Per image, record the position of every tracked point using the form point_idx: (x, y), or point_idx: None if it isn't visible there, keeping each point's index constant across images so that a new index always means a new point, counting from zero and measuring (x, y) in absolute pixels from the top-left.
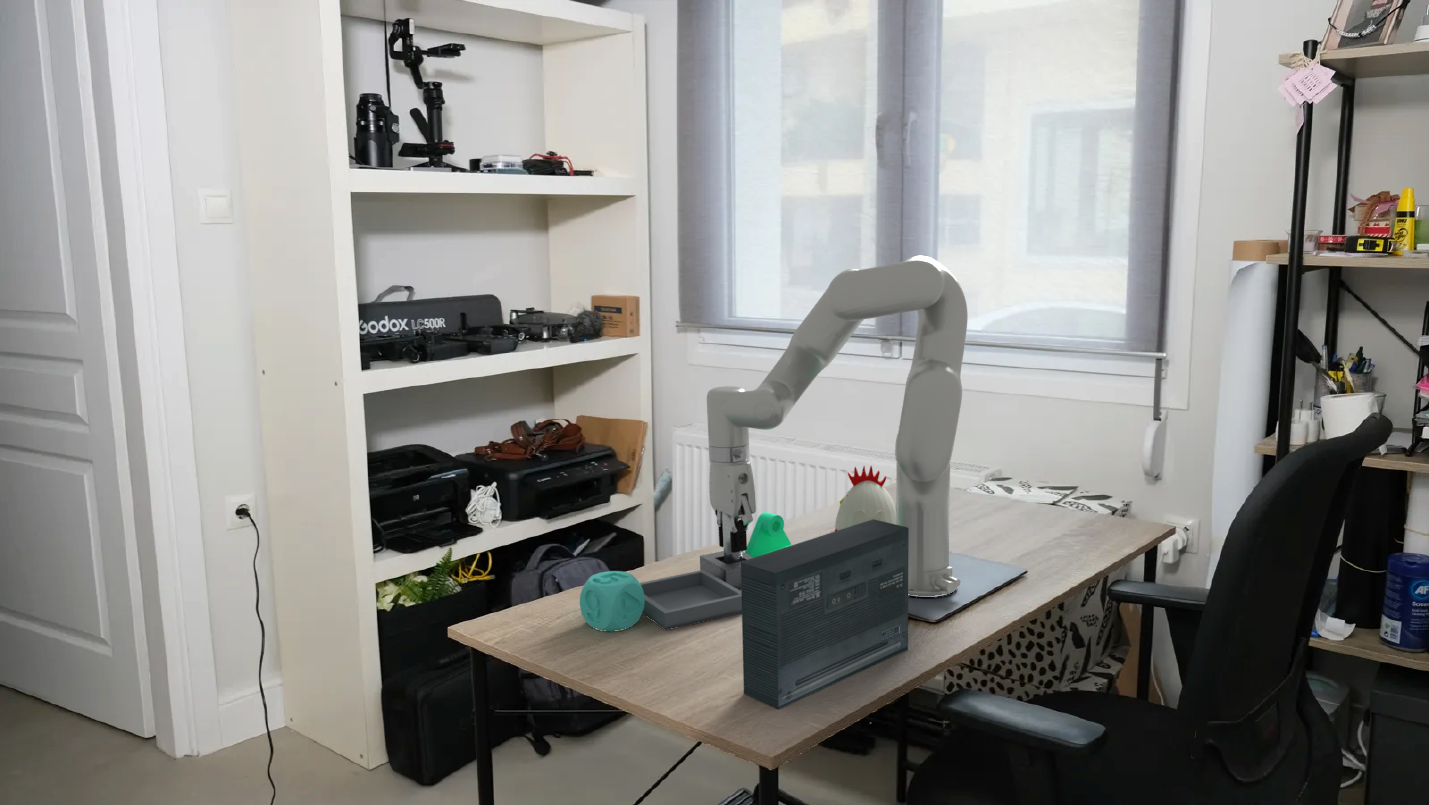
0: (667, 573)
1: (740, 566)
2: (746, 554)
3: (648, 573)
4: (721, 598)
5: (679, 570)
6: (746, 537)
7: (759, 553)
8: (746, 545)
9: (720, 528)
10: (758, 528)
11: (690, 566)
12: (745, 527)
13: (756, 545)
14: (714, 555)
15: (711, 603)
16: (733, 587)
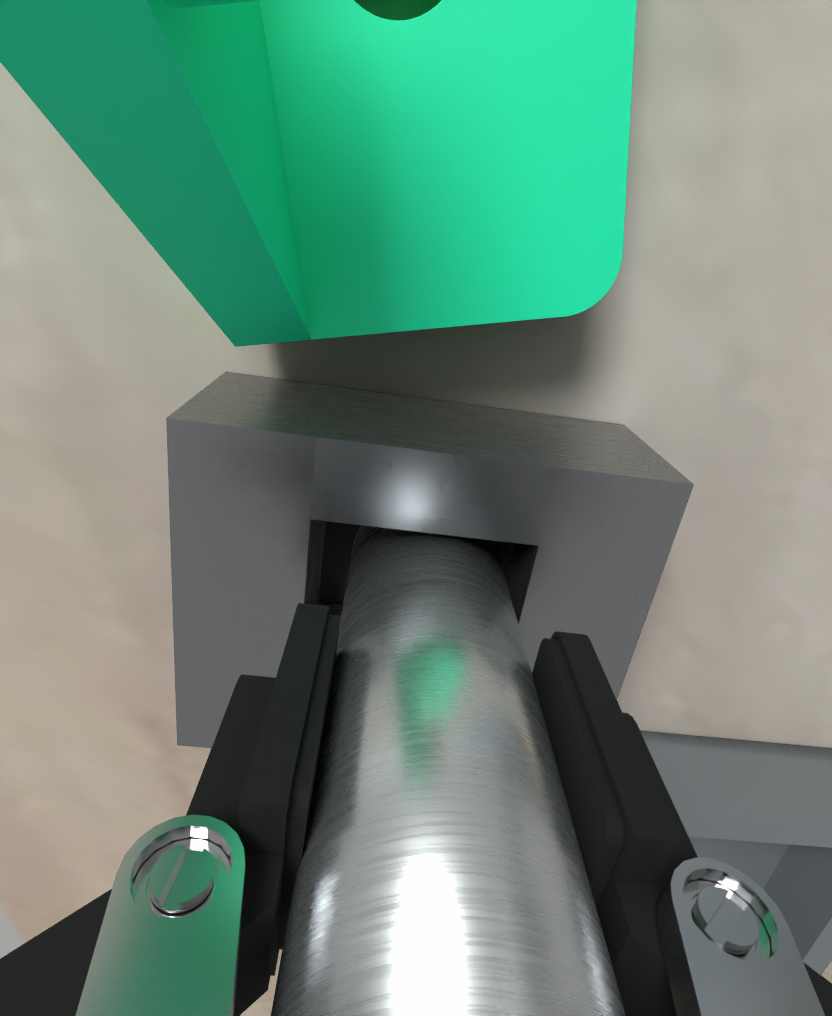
0: (69, 740)
1: (616, 677)
2: (402, 457)
3: (16, 802)
4: (827, 927)
5: (51, 671)
6: (631, 734)
7: (284, 167)
8: (599, 664)
9: (279, 945)
10: (140, 83)
11: (4, 586)
12: (825, 1002)
13: (270, 213)
14: (241, 670)
15: (820, 971)
16: (774, 823)
